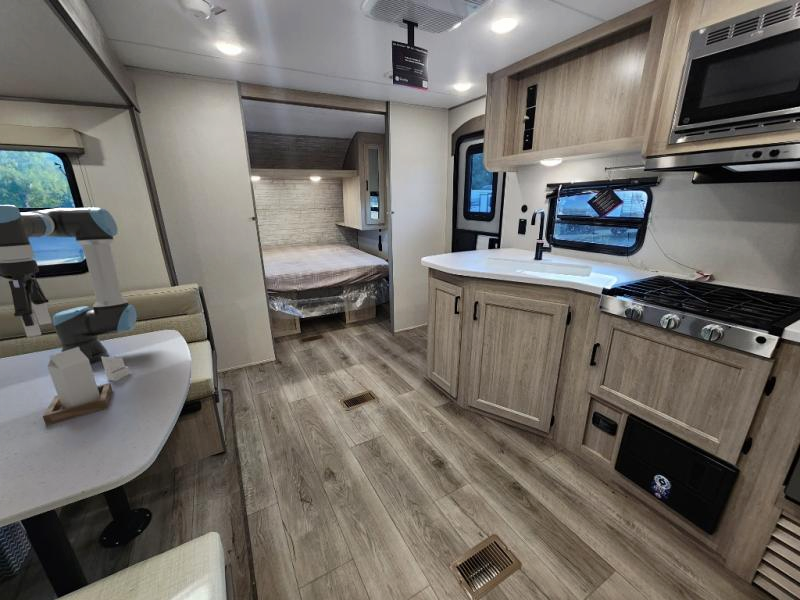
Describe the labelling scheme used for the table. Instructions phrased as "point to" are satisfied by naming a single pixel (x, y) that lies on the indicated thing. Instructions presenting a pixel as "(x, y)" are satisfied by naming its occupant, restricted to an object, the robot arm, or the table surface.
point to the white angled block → (114, 368)
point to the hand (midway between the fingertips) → (40, 329)
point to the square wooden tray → (77, 407)
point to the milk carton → (73, 378)
